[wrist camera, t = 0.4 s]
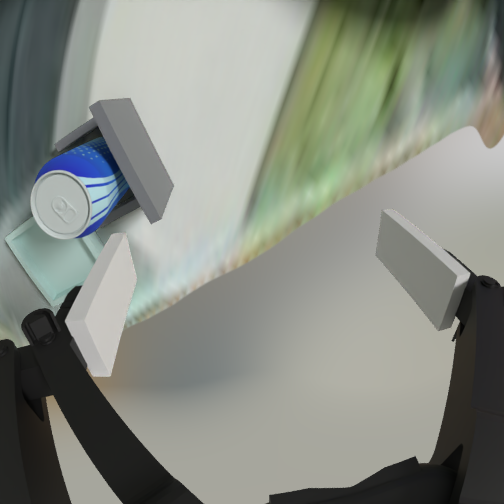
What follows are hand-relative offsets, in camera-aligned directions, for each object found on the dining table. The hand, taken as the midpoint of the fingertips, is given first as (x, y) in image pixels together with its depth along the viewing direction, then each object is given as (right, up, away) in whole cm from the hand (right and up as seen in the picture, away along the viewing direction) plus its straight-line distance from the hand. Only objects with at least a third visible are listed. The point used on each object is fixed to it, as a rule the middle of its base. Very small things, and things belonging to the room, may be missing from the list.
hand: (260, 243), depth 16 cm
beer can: (-19, +11, +23) cm, 32 cm away
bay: (-18, +11, +22) cm, 31 cm away
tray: (-29, 0, +27) cm, 40 cm away
